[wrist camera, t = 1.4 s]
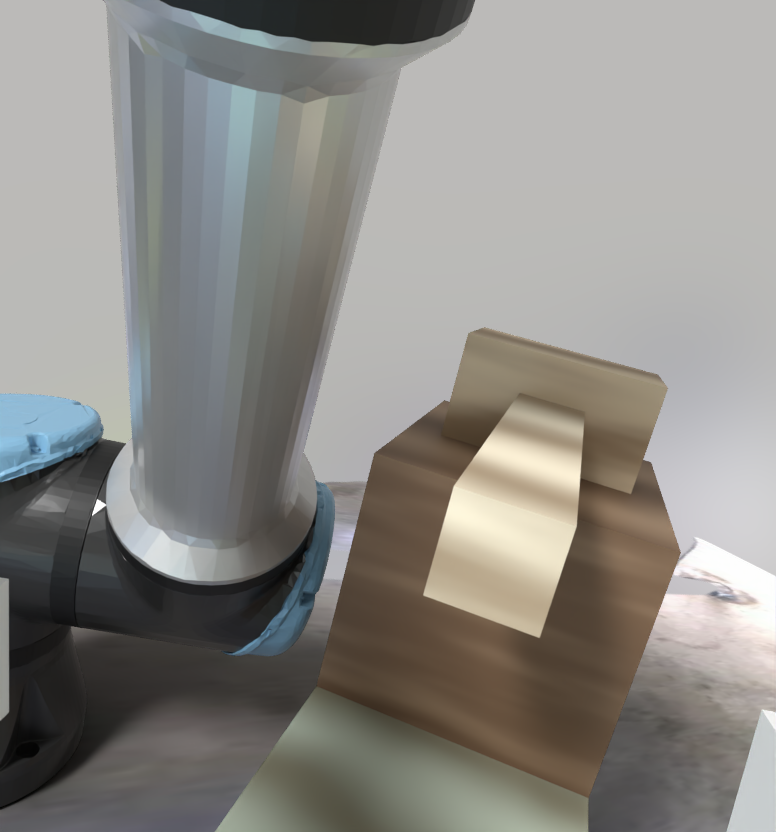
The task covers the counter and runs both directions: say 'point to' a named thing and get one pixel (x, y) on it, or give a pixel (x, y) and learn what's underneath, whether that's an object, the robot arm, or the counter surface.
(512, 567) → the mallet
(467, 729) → the step stand
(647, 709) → the counter surface
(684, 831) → the counter surface
